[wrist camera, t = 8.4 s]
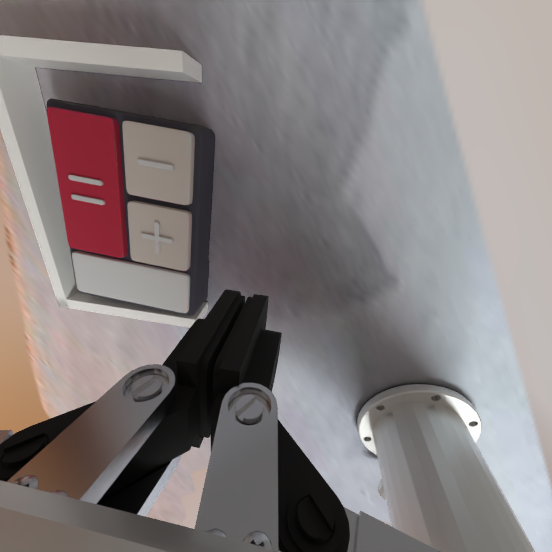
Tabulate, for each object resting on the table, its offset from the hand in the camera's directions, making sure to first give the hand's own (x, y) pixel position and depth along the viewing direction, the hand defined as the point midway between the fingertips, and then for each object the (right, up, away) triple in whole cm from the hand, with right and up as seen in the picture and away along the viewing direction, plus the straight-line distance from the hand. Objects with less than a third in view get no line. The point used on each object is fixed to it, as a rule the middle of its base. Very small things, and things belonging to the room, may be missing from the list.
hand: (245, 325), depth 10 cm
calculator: (-10, +8, +13) cm, 18 cm away
